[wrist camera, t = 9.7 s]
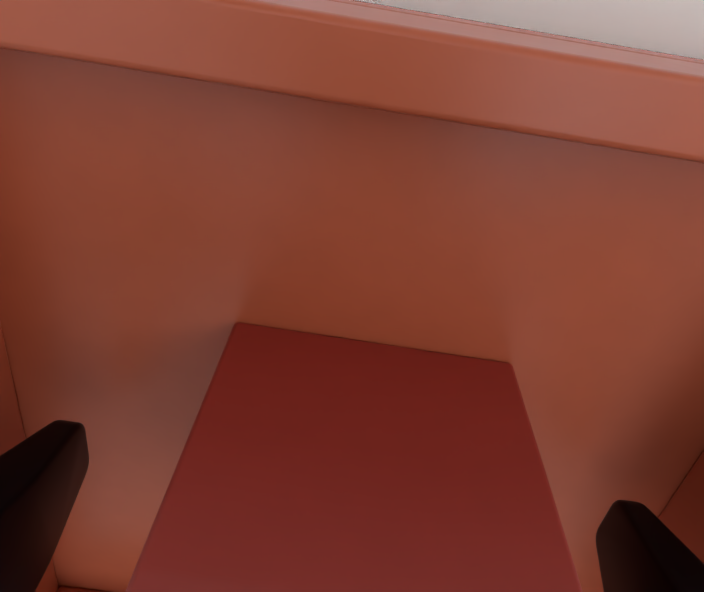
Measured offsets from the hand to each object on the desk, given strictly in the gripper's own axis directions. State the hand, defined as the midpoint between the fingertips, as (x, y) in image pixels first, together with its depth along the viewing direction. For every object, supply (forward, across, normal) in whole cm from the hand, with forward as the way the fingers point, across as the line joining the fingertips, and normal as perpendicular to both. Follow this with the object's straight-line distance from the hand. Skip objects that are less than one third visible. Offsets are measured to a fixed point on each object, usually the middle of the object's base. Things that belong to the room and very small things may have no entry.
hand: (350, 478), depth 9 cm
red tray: (+2, 0, 0) cm, 2 cm away
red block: (+1, 0, 0) cm, 1 cm away
